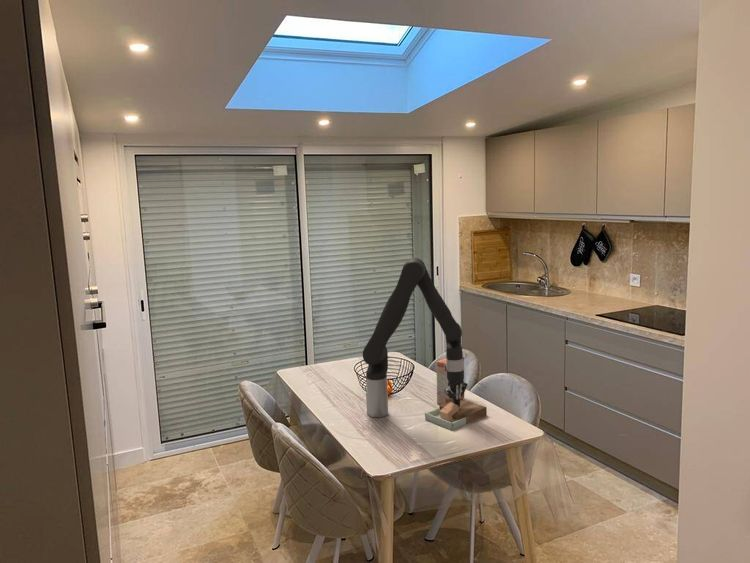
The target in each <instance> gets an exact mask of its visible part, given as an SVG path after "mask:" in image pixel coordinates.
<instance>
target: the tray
mask: <svg viewBox="0 0 750 563" xmlns="http://www.w3.org/2000/svg"><path fill="white" fill-rule="evenodd" d="M439 411H440V408H439V407H437V408H434V409H433V410H430V411H427V412H424V419H425V421H427V422H430V423H432V424H435V425H437V426H440V427H442V428H445V429H448V430H450V431H454V430H457V429H459V428H462V427H464V426H466V425H467V424H466V417H465V418H462V419H460V420H456V419H453V418H452V419H453V420H452V421H451V422H449V421H446V420H444V419H441V417H440V413H439Z"/></svg>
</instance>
